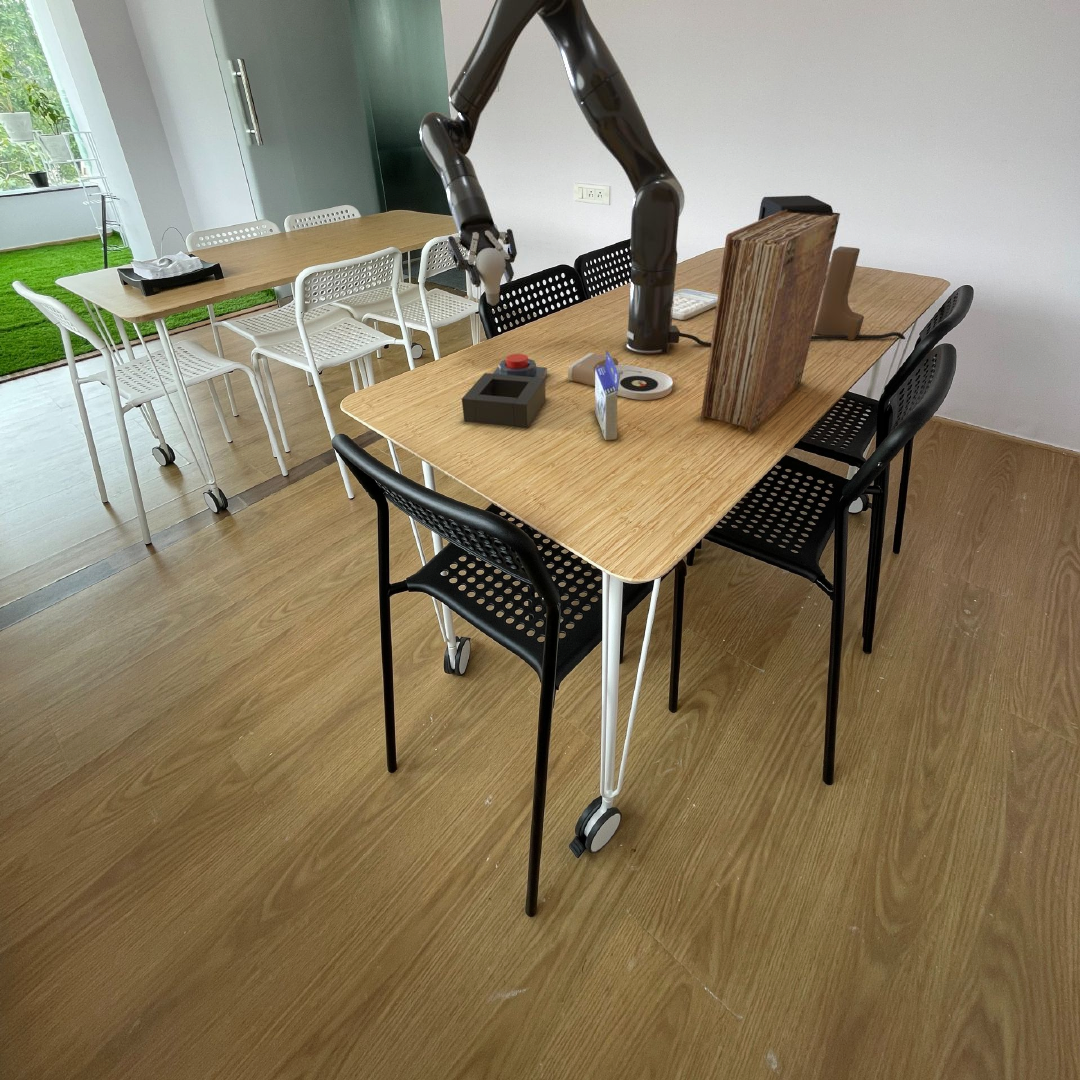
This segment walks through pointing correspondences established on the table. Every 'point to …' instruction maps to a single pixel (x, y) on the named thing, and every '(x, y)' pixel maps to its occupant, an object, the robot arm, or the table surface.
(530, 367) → the switch
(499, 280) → the lightbulb
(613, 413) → the ink box
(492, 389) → the socket
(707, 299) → the calculator
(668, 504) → the table surface
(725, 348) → the book
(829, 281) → the wooden block
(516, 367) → the button
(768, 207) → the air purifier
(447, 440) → the table surface
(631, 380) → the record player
